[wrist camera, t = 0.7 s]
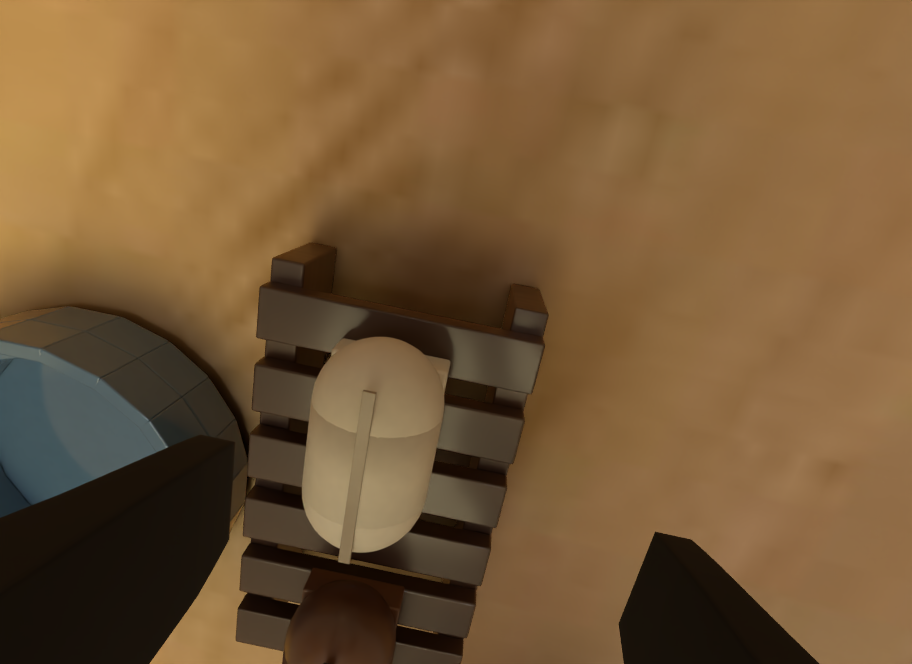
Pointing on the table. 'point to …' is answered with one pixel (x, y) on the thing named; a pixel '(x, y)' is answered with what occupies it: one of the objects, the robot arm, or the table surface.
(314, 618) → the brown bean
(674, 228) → the table surface
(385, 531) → the cream capsule
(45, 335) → the bowl
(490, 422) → the rack
